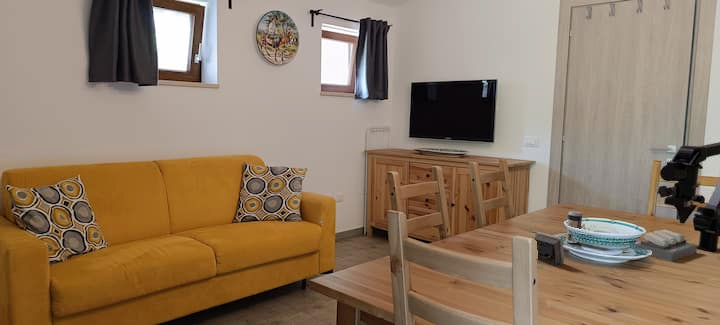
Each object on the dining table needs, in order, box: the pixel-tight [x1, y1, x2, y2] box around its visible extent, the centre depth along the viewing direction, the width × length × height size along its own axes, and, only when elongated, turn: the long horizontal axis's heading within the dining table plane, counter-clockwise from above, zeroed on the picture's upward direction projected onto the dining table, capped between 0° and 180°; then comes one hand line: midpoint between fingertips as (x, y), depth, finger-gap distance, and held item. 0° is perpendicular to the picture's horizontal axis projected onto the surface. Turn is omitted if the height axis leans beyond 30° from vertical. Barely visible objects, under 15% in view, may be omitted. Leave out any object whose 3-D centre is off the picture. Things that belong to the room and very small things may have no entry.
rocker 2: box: [652, 230, 678, 245], centre depth 174 cm, size 4×7×2 cm, turn 35°
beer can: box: [565, 210, 583, 242], centre depth 181 cm, size 5×5×12 cm
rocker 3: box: [660, 229, 686, 242], centre depth 177 cm, size 4×7×2 cm, turn 34°
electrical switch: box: [532, 231, 565, 266], centre depth 158 cm, size 9×5×9 cm, turn 38°
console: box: [634, 239, 698, 262], centre depth 174 cm, size 20×12×4 cm, turn 125°
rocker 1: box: [642, 231, 670, 247], centre depth 171 cm, size 4×7×2 cm, turn 35°
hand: (682, 223), depth 174 cm, fingers closed
